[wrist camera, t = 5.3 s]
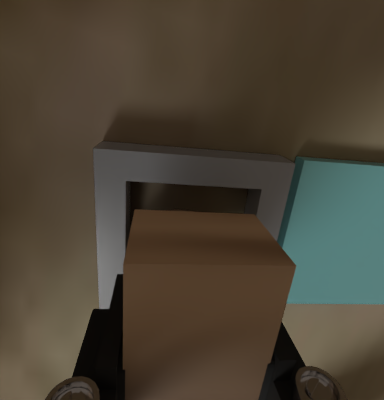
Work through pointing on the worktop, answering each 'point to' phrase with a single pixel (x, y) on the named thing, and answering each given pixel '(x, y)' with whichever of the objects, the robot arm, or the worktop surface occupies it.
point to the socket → (176, 174)
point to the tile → (335, 231)
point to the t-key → (201, 305)
